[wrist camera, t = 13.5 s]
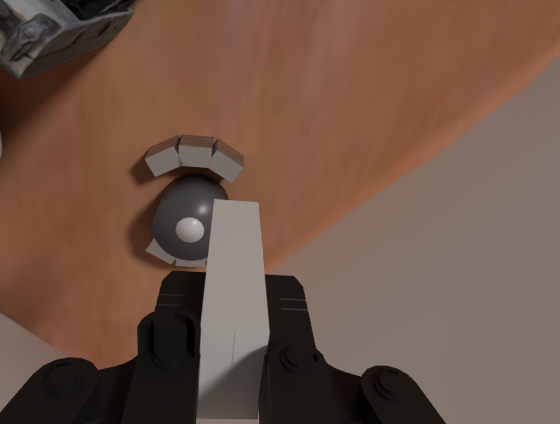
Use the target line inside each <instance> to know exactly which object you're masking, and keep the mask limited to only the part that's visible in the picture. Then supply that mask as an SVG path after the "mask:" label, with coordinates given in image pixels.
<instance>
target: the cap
mask: <svg viewBox="0 0 560 424" xmlns="http://www.w3.org/2000/svg"><path fill="white" fill-rule="evenodd" d="M214 199H220V200H228V196H227V193H226V191H225V190H224V188H223V187H222V186H221V185H220V184H219V183H218V182H217V181H216V180H214V179H213V178H211V177H209V176H206V175H202V174H185V175H182V176H180V177H177V178H176V179H174V180H173V181H172V182H170V183H169V184H168V186H167V187H166V189H165V190H164V193H163V195H162V198H161V200H160V203H159V205H158V208H157V211H156V213H155V216H154V219H153V224H152V230H153V235H154V238H155V240H156V242H157V243H158V245H159V246H160V247H161V248H162V249H163V250H164V251H165V252H166V253H168V254H169V255H171V256H173V257H175V258H178V259H182V260H187V261H196V260H202V259H205V258H208V252H209V243H210V234H211V224H212V215H213V206H214Z"/></svg>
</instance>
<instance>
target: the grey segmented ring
mask: <svg viewBox="0 0 560 424" xmlns="http://www.w3.org/2000/svg"><path fill="white" fill-rule="evenodd" d="M213 139H214V137H205V136H194V135H182V138H181V140H180V139H179V137H178V135H177V136H175V137H173V138H170V139H168V140H166V141H164V142H161V143H159V144H157V145H155V146H153V147H150V149H149V151H148V153H147V155H146V157H145V161H146V163H147V164H148V166H149V168H150V169H151V171H152V172H153V174H154V176H155V177H157V176H159V175H161V174H163V173H166V172H168V171H170V170H173V169H175V168H177V167H179V166H191V167H203V168H209V169H211V170H212V171H214V172H215V173H217V174H218V175H220V176H222V177H223V178H225V179H226V180H228V181H229V182H231V183H233V181H234V180H235V179H236V177H237V176H238V175H239V173H240V172H241V171H242V169H243V168H244V156H243V155H242V154H240V153H239V152H237V151H236V150H234V149H233V148H231V147H230V146H228V145H227V144H225V143H224V142H222V141H221V140H219V139H218V140H217V142H216V143H215V145H214V146H213ZM145 251H147V252H149V253H150V254H152V255H154V256H156V257H158V258H160V259H162V260H163V261H165V262H167V263H169V264H172V263H173V261H174V260H175V259H176V266H187V267H205V263H206V261H208V258H205V259H202V260H196V261H187V260H182V259H178V258H175V257H173V256H171V255H169V254H168V253H166V252H165V251H164V250H163V249H162V248H161V247H160V246H159V245H158V243H157V242H156V240H155V238H154V235H153V232H152V234H151V235H150V238H149V241H148V244H147V247H146V250H145Z"/></svg>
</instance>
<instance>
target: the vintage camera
mask: <svg viewBox="0 0 560 424" xmlns="http://www.w3.org/2000/svg"><path fill="white" fill-rule="evenodd" d="M133 1H134V0H0V65H1V66H3V67H4V68H5V69H6V70H7V71H8V72H9V73H11V74H12V75H13V76H14V77H15V78H16V79H18V80H20V79H24V78H28V77H32V76H35V75H37V74H39V73H42V72H44V71H46V70H49V69H51V68H53V67H55V66H57V65H60V64H62V63H64V62H66V61H69V60H71V59H74V58H76V57H78V56H80V55H82V54H85V53H87V52H90V51H92V50H94V49H97V48H99V47H101V46H103V45H105V44H107V43H108V42H109V41H111V40H112V39H113V38H114V37H115V36H116V35H117V34H118V33H119V32H120V30H121V29H122V28H123V27H124V26H125V25H126V23H127V22H128V21H129V20H130V19H131V17H132V15H133V14H134V13H133V10H132V9H131V8H130V7H129V6H130V5H131V4H132V2H133Z"/></svg>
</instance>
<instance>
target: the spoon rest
mask: <svg viewBox="0 0 560 424" xmlns="http://www.w3.org/2000/svg"><path fill="white" fill-rule="evenodd" d="M1 154H2V138H1V132H0V159H1Z"/></svg>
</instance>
